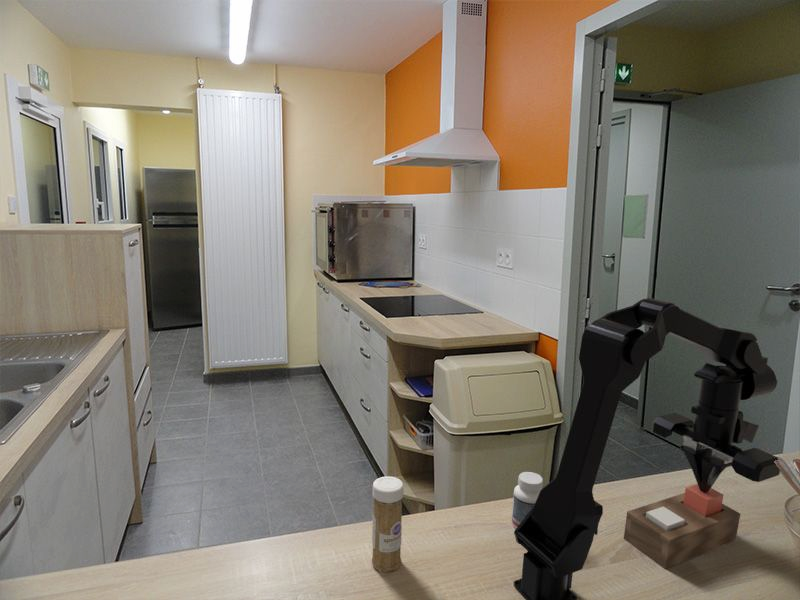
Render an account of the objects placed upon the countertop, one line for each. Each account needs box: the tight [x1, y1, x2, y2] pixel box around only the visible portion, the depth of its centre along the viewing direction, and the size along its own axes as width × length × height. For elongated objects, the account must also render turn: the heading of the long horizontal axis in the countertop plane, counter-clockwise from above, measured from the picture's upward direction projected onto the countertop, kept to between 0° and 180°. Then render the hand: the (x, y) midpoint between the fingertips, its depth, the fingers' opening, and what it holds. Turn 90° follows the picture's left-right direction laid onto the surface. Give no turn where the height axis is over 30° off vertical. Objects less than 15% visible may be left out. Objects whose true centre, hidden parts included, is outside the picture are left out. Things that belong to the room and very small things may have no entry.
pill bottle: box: [510, 471, 544, 529], centre depth 93 cm, size 5×5×9 cm
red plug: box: [683, 484, 724, 517], centre depth 92 cm, size 4×4×5 cm
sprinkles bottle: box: [371, 476, 404, 573], centre depth 82 cm, size 5×5×13 cm
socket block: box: [623, 492, 741, 570], centre depth 90 cm, size 17×8×5 cm, turn 116°
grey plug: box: [646, 507, 685, 531], centre depth 88 cm, size 4×4×5 cm
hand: (704, 491), depth 91 cm, fingers closed, pressing on red plug
